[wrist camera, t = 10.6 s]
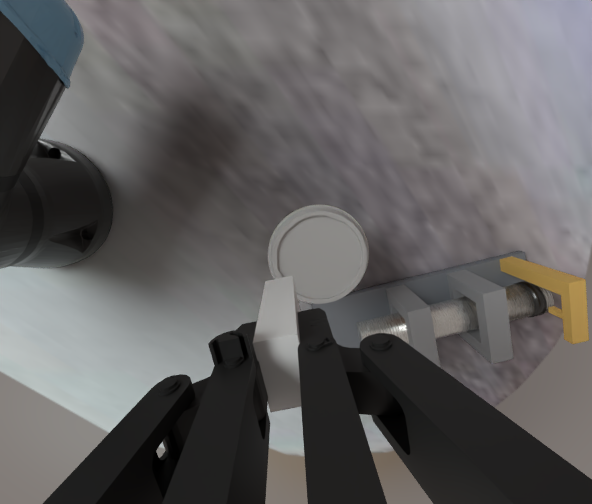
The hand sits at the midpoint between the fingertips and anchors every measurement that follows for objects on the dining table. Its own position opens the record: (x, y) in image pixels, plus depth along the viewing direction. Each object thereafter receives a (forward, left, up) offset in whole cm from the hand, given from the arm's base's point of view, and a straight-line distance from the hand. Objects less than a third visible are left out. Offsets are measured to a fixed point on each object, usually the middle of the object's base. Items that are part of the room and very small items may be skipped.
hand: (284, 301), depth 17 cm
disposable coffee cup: (+3, -1, -23) cm, 23 cm away
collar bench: (+15, -14, -23) cm, 31 cm away
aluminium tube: (+17, -14, -21) cm, 30 cm away
